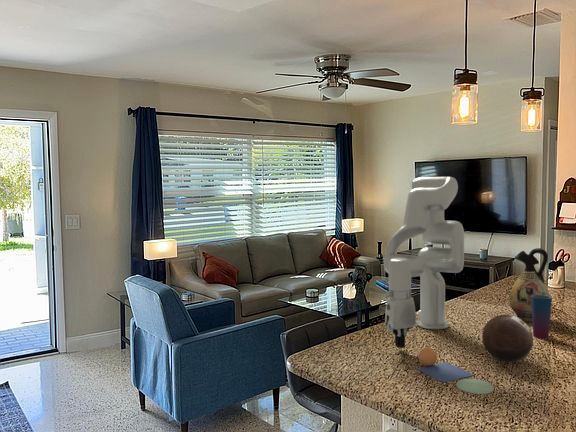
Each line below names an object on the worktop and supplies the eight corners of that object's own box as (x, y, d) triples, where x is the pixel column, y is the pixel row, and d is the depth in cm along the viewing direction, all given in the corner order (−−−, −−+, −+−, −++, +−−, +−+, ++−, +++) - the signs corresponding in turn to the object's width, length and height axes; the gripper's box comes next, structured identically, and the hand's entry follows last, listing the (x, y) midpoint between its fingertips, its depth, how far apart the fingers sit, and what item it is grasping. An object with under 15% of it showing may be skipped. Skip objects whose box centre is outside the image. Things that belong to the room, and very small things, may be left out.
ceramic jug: (509, 322, 205) (510, 249, 203) (508, 313, 219) (509, 244, 217) (556, 326, 199) (558, 251, 197) (552, 316, 213) (554, 245, 211)
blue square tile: (416, 369, 158) (416, 368, 158) (446, 362, 163) (446, 362, 163) (443, 383, 147) (443, 382, 147) (474, 375, 152) (474, 374, 152)
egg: (415, 365, 162) (414, 347, 162) (429, 362, 164) (428, 344, 164) (427, 369, 157) (426, 351, 156) (441, 366, 159) (440, 348, 159)
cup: (553, 339, 183) (554, 299, 182) (533, 338, 184) (534, 298, 183) (547, 334, 190) (548, 294, 188) (528, 333, 191) (529, 294, 190)
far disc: (448, 383, 146) (448, 382, 146) (474, 377, 150) (474, 376, 150) (474, 396, 137) (474, 396, 137) (501, 389, 141) (501, 388, 141)
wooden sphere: (535, 372, 153) (536, 323, 152) (482, 366, 159) (482, 319, 157) (530, 355, 167) (530, 311, 166) (481, 351, 173) (482, 308, 172)
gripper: (388, 299, 167) (388, 353, 168) (424, 293, 173) (424, 346, 174) (375, 294, 173) (375, 346, 175) (410, 289, 180) (410, 340, 181)
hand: (400, 346), depth 174 cm, fingers closed
